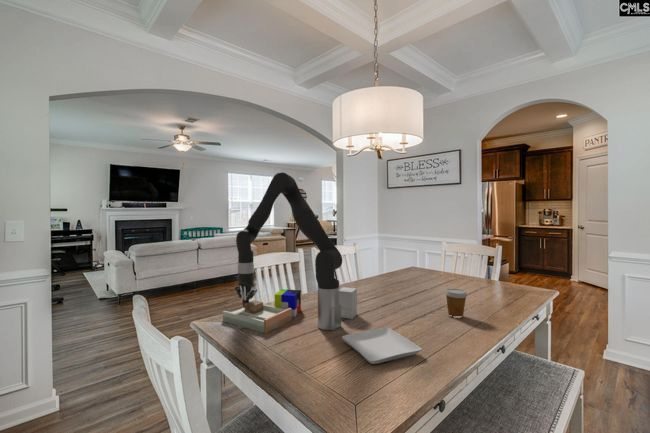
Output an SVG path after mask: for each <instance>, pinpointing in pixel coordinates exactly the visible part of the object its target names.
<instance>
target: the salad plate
mask: <svg viewBox="0 0 650 433" xmlns="http://www.w3.org/2000/svg"><path fill="white" fill-rule="evenodd" d="M341 337H342V340H343V341H344V342H345V343H346V344H347V345H348V346H350V347H351V348H353V349H354V350H355V351H356V352H358V354H360V356H362V357H363V358H364V359H365V360H366V361H367V362H368V363H369V364H371V365H376V364H377V365H378V364H382V363H384V362H390V361H394V360H397V359H402V358H406V357H410V356H414V355H416V354H419V353H420V352H421V351H422V347H420V346H419V345H418V344H416V343H414V342H412V341H411V340H409V339H408V338H407V337H405V336H403V335H401V334H399V333H398V332H396V331H395V330H393V329H391V328H390V327H388V326H386V327H382V328H381V327H380V328H376V329H375V328H374V329H370V330H366V331H365V330H364V331H360V332H355V333H350V334H346V335H342V336H341Z"/></svg>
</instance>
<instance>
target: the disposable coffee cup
mask: <svg viewBox="0 0 650 433" xmlns="http://www.w3.org/2000/svg"><path fill="white" fill-rule="evenodd" d="M445 296H446V298H445V299H446V305H447V312H448V313H447V314H449V315H452V316H463V317H464V311H465V305H466V299H467V296H468V294H467V291H465V290H464V289H460V288H447V289H446V291H445ZM449 315H448V316H449Z"/></svg>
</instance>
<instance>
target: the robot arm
mask: <svg viewBox="0 0 650 433" xmlns="http://www.w3.org/2000/svg"><path fill="white" fill-rule="evenodd" d="M281 194H282V195H283V197H284V198H285V199H286V200H287V202H288V204H289V206H290V208H291V212H292V218H293V219H294V222H295V224H296V225H297V228H299V230H300V232H301V233H302V234H303V235H304V236H305V237H306V238H308V240H310V241H311V242H312V243H314V245H315V246H316V247H317V248H318V250H319V252H318V253H317V254H316V257H315V260H314V261H315V262H314V266H315V267H314V268H315V280H316V283H317V327H318V328H319V329H320V330H323V331H336V330H337V329H339V328H340V327H342V317H341V304H339V290H340V280H339V279H337V278H336V276H335V270H337V269H339V268H341V267H342V264H343V257H342V254H341V252H340V250H339V249H338V248H337V246H336V245H335V244H334V243H333V241H332V240H331V238H329V236H328V234H327V233H326V231H325V229H324V227H323V226H322V225H321V223H320V221H319V220H318V218H317V216H316V214H315V213H314V211H313V210H312V208H311V207H310V204H309V203H308V202H307V201H306V199H305V198H304V197H303V195H302V193H301V191H300V188H299V187H298V184H297V182H296V179H294V177H292V176H291V175H289V174H288V173H286V172H283V171H279V172H277V173H275V174H274V176H273V177H272V178H271V180H270V183H269V185H268V187H267V189H266V191H265V192H264V195H263V197H262V199H261V201H260V203H259V204H258V206H257V208H256V209H255V210H254V211H253V213H252V215H251V216H250V218H249V219H248V221H247V222H248V223H247V226H246V227H245V229H244V230H242V229H241V230H240V231H239V232H238V233H236V234H237V235H236V236H235V237H236V238H235V239H236V240H235V243H236V249H237V256H238V257H237V258H238V263H237V282H238V285H237V286H234V289H235V291H236V293H237V295H238V297H239V298H240V299H241V300H242V307H243V308H245V303H247V302H250V300H251V299H253V298H254V296H255V294H256V293H257V291H258V289H257V288H254V281H255V268H254V267H255V265H254V264H255V263H254V251H253V249H252V246H251V244H253V242H254V241H255V240H256V239H257V237H258V235H259V234H260V231H261V229H262V228H263V227H264V225H265V224H266V222H267V221H268V219H269V218H270V216H271V213H272V210H273V206H274V204H275V201H276V199H277V198H278V197H279V196H280V195H281Z"/></svg>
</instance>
